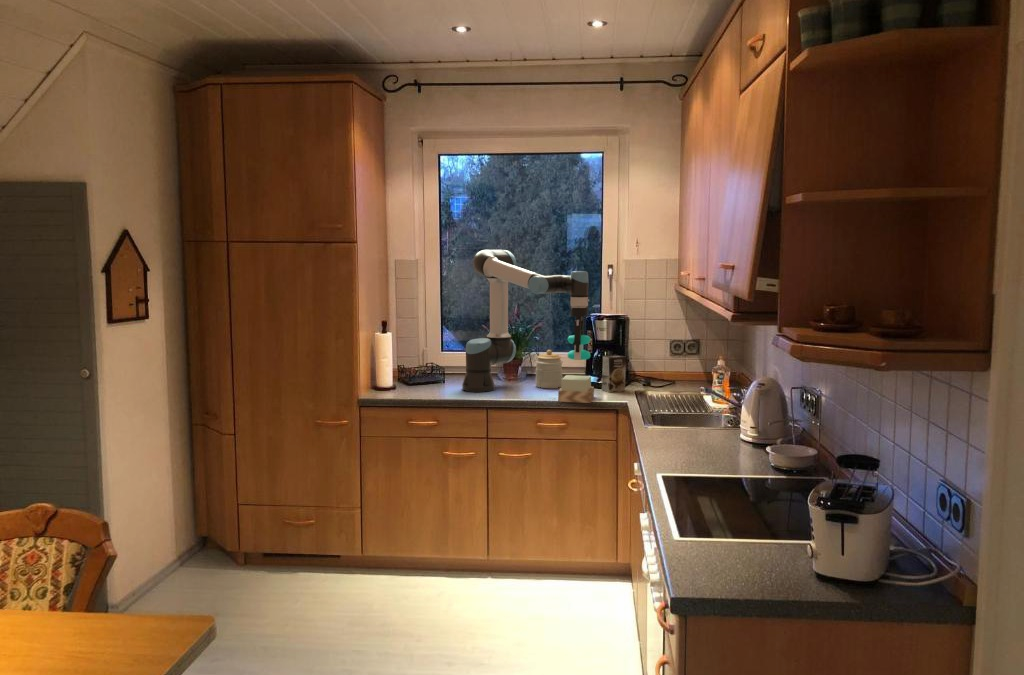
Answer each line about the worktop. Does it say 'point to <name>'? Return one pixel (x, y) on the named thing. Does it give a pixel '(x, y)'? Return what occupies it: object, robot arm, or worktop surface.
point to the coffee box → (613, 373)
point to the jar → (549, 370)
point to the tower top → (576, 383)
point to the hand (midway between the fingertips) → (578, 358)
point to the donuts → (584, 340)
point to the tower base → (576, 396)
